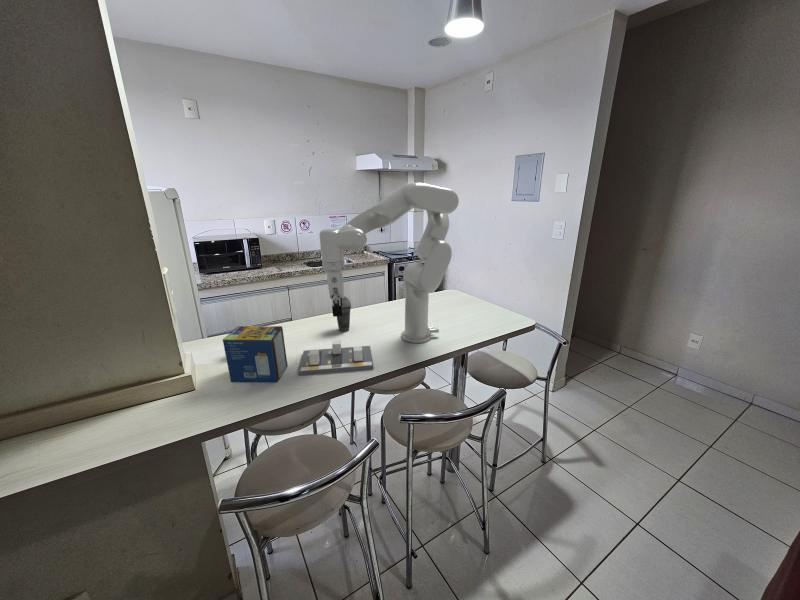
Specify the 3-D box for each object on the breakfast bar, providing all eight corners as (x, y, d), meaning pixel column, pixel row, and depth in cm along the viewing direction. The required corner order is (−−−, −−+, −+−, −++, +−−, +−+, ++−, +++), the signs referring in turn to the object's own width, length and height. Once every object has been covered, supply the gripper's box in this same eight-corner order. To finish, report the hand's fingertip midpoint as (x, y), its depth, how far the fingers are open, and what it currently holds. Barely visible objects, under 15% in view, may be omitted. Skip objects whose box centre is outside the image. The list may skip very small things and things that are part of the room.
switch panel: (370, 349, 127) (370, 345, 126) (373, 369, 113) (373, 364, 112) (304, 354, 123) (303, 349, 122) (299, 375, 109) (298, 370, 108)
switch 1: (319, 360, 115) (318, 349, 114) (319, 364, 112) (318, 354, 111) (310, 360, 114) (309, 350, 113) (310, 365, 112) (309, 354, 110)
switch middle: (341, 349, 122) (340, 340, 121) (341, 353, 119) (340, 343, 118) (333, 350, 122) (332, 340, 120) (332, 354, 119) (332, 344, 118)
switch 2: (362, 356, 117) (361, 346, 116) (362, 360, 114) (362, 350, 113) (353, 357, 117) (353, 347, 116) (354, 361, 114) (353, 351, 113)
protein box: (244, 366, 115) (237, 325, 110) (288, 366, 115) (283, 325, 110) (229, 383, 105) (221, 339, 100) (277, 383, 105) (271, 339, 100)
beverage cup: (349, 334, 140) (346, 289, 133) (333, 332, 141) (330, 288, 135) (354, 327, 146) (352, 284, 140) (339, 326, 148) (336, 283, 141)
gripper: (344, 270, 106) (348, 319, 111) (344, 259, 122) (347, 302, 128) (321, 272, 105) (326, 321, 110) (323, 260, 121) (328, 303, 126)
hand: (337, 311), depth 119 cm, fingers open, 9 cm apart
